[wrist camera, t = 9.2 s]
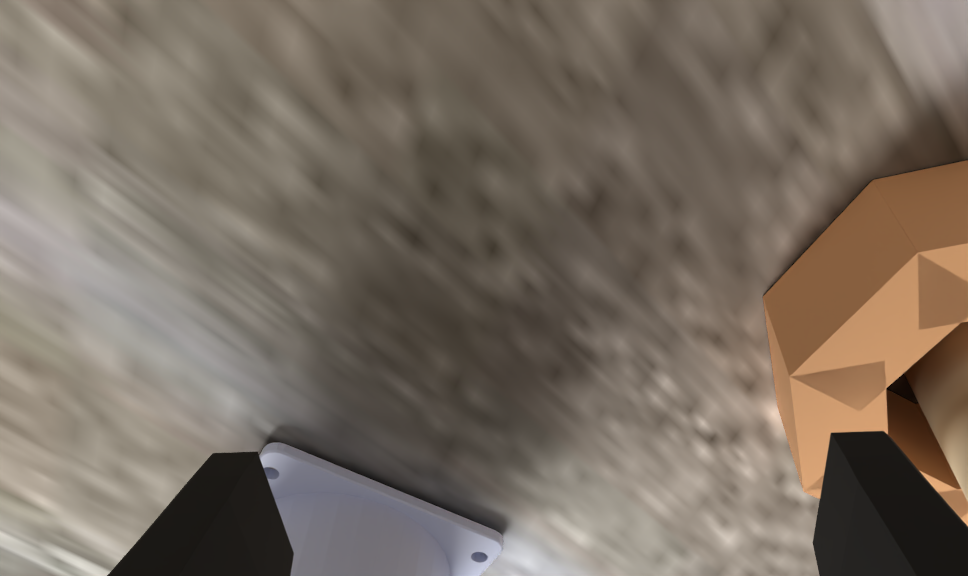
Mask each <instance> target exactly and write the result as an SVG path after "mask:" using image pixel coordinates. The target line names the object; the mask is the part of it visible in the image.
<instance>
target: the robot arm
mask: <svg viewBox="0 0 968 576" xmlns="http://www.w3.org/2000/svg"><path fill="white" fill-rule="evenodd" d="M269 467H271V468H274V469H270V468H269ZM275 469H276V470H275ZM503 542H504V541H503V536H502V535H501V534H500V533H499V532H497V531H495V530H493V529H491V528H488V527H486V526H484V525H481V524H479V523H476V522H474V521H471V520H469V519H466V518H464V517H462V516H459V515H457V514H454V513H452V512H449V511H447V510H445V509H442V508H440V507H437V506H435V505H432V504H430V503H428V502H425V501H423V500H420V499H418V498H415V497H413V496H411V495H408V494H406V493H403V492H401V491H398V490H396V489H394V488H391V487H389V486H386V485H384V484H381V483H379V482H377V481H374V480H372V479H369V478H367V477H364V476H362V475H360V474H357V473H355V472H352V471H350V470H347V469H345V468H342V467H340V466H338V465H335V464H333V463H330V462H328V461H325V460H323V459H321V458H318V457H316V456H313V455H311V454H308V453H306V452H304V451H301V450H299V449H296V448H294V447H291V446H289V445H287V444H283V443H280V442H279V443H270V444H267V445H266V446H265V447H264V448H263V450H262V452H261V453H260V455H259V454H258V452H238V453H213V454H212V455H211V456H210V457H209V458H208V459H207V461H206V462H205V463H204V464H203V465H202V466H201V467H200V469H199V470H198V471H197V472H196V473H195V474H194V475H193V477H192V478H191V479H190V480H189V481H188V482H187V484H186V485H185V486H184V487H183V488H182V490H181V491H180V492H179V493H178V494H177V495H176V497H175V498H174V499H173V500H172V501H171V503H170V504H169V505H168V506H167V507H166V509H165V510H164V511H163V512H162V513H161V514H160V516H159V517H158V518H157V519H156V520H155V521H154V523H153V524H152V525H151V526H150V527H149V529H148V530H147V531H146V532H145V533H144V534H143V536H142V537H141V538H140V539H139V540H138V541H137V543H136V544H135V545H134V546H133V547H132V548H131V549H130V551H129V552H128V553H127V554H126V555H125V556H124V557H123V559H122V560H121V561H120V562H119V563H118V564H117V565H116V566H115V568H114V569H113V570H112V571H111V572H110V573H109V574H108V575H107V576H480V575H481V574H482V573H483V572H484V571H485V570H486V569H487V568H488V567H489V566H490V565H491V563H492V562H493V561H494V560H495V559H496V558H497V557H498V556H499V555H500V554H501V552H502V550H503ZM813 546H814V551H815V555H816V560H817V565H818V570H819V575H820V576H968V526H967V525H966V524H965V523H964V522H963V520H962V519H961V518H960V517H959V516H958V515H957V514H956V513H955V511H954V510H953V509H952V508H951V507H950V506H949V505H948V504H947V502H946V501H945V500H944V499H943V498H942V497H941V496H940V494H939V493H938V492H937V491H936V490H935V489H934V487H933V486H932V485H931V484H930V483H929V482H928V481H927V479H926V478H925V477H924V476H923V475H922V474H921V472H920V471H919V470H918V469H917V468H916V466H915V465H914V464H913V463H912V462H911V461H910V459H909V458H908V457H907V456H906V455H905V453H904V452H903V451H902V450H901V449H900V448H899V446H898V445H897V444H896V443H895V442H894V440H893V439H892V438H891V437H890V436H889V435H888V434H886V433H885V432H884V431H864V432H834V433H831V435H830V441H829V447H828V453H827V459H826V466H825V472H824V478H823V484H822V490H821V496H820V502H819V508H818V515H817V521H816V527H815V533H814V539H813Z"/></svg>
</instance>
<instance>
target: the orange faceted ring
mask: <svg viewBox="0 0 968 576" xmlns="http://www.w3.org/2000/svg"><path fill="white" fill-rule="evenodd" d="M763 302H764V309H765V317H766V324H767V331H768V339H769V346H770V354H771V361H772V369H773V376H774V383H775V391H776V398H777V406H778V410H779V413H780V416H781V419H782V423H783V426H784V429H785V432H786V436H787V439H788V442H789V446H790V449H791V452H792V455H793V459H794V462H795V465H796V468H797V472H798V475H799V478H800V481H801V485H802V488H803V491H804V492H806V493H808V494H810V495H812V496H814V497H816V498H819V499H820V496H821V490H822V484H823V478H824V472H825V466H826V459H827V453H828V447H829V441H830V435H831V433H834V432H864V431H884V432H885V433H886V434H888V435H889V436H890V437H891V438H892V439H893V440H894V442H895V443H896V444H897V445H898V446H899V448H900V449H901V450H902V451H903V452H904V453H905V455H906V456H907V457H908V458H909V459H910V461H911V462H912V463H913V464H914V465H915V466H916V468H917V469H918V470H919V471H920V472H921V474H922V475H923V476H924V477H925V478H926V479H927V481H928V482H929V483H930V484H931V485H932V486H933V487H934V489H935V490H936V491H937V492H938V493H939V494H940V496H941V497H942V498H943V499H944V500H945V501H946V502H947V504H948V505H949V506H950V507H951V508H952V509H953V510H954V511H955V513H956V514H957V515H958V516H959V517H960V518H961V519H962V520H963V522H964V523H965V524H966V525H967V526H968V501H967V499H966V497H965V495H964V493H963V491H962V489H961V487H960V485H959V483H958V481H957V479H956V477H955V475H954V473H953V471H952V469H951V467H950V465H949V463H948V461H947V459H946V457H945V455H944V453H943V451H942V449H941V447H940V445H939V443H938V441H937V439H936V437H935V435H934V433H933V431H932V429H931V427H930V425H929V423H928V421H927V419H926V417H925V415H924V413H923V411H922V409H921V407H920V405H919V403H918V404H914V403H913V402H911V401H909V400H907V399H905V398H903V397H901V396H899V395H897V394H895V393H893V392H891V391H889V390H887V389H886V388H887V387H888V386H890V385H891V384H892V383H893V382H894V381H895V380H896V379H898V378H899V377H900V376H901V375H902V374H903V373H904V372H905V371H907V370H908V369H909V368H910V367H911V366H912V365H913V364H915V363H916V362H917V361H918V360H919V359H920V358H921V357H923V356H924V355H925V354H926V353H927V352H928V351H929V350H931V349H932V348H933V347H934V346H935V345H936V344H937V343H938V342H940V341H941V340H942V339H943V338H944V337H945V336H946V335H948V334H949V333H950V332H951V331H952V330H953V329H954V328H956V327H957V326H958V325H959V324H960V323H962V322H968V160H966V161H962V162H957V163H952V164H947V165H942V166H938V167H933V168H928V169H923V170H918V171H914V172H909V173H904V174H899V175H894V176H890V177H885V178H880V179H875V180H872V181H871V182H870V183H869V184H868V185H867V186H866V188H865V189H864V190H863V191H862V192H861V193H860V194H859V195H858V196H857V197H856V198H855V199H854V200H853V201H852V202H851V204H850V205H849V206H848V207H847V208H846V209H845V210H844V211H843V212H842V213H841V214H840V215H839V216H838V217H837V218H836V219H835V221H834V222H833V223H832V224H831V225H830V226H829V227H828V228H827V229H826V230H825V231H824V232H823V233H822V234H821V235H820V237H819V238H818V239H817V240H816V241H815V242H814V243H813V244H812V245H811V246H810V247H809V248H808V249H807V250H806V251H805V253H804V254H803V255H802V256H801V257H800V258H799V259H798V260H797V261H796V262H795V263H794V264H793V265H792V266H791V267H790V268H789V270H788V271H787V272H786V273H785V274H784V275H783V276H782V277H781V278H780V279H779V280H778V281H777V282H776V283H775V284H774V286H773V287H772V288H771V289H770V290H769V291H768V292H767V293H766V294H765V295H764V296H763Z"/></svg>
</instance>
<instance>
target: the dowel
mask: <svg viewBox="0 0 968 576" xmlns="http://www.w3.org/2000/svg"><path fill="white" fill-rule="evenodd" d="M904 374H905V376H906V378H907V380H908V382H909V384H910V387H911V389H912V391H913V393H914V395H915V397H916V399H917V401H918V403H919V405H920V407H921V409H922V411H923V413H924V415H925V417H926V419H927V421H928V423H929V425H930V427H931V429H932V431H933V433H934V435H935V437H936V439H937V441H938V443H939V445H940V447H941V449H942V451H943V453H944V455H945V457H946V459H947V461H948V463H949V465H950V467H951V469H952V471H953V473H954V475H955V477H956V479H957V481H958V483H959V485H960V487H961V489H962V491H963V493H964V495H965V497H966V499H967V501H968V322H962V323H960V324H959V325H958V326H957V327H956V328H954V329H953V330H952V331H951V332H950V333H949V334H948V335H946V336H945V337H944V338H943V339H942V340H941V341H940V342H938V343H937V344H936V345H935V346H934V347H933V348H932V349H931V350H929V351H928V352H927V353H926V354H925V355H924V356H923V357H921V358H920V359H919V360H918V361H917V362H916V363H915V364H913V365H912V366H911V367H910V368H909V369H908V370H907V371H905V372H904Z"/></svg>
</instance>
